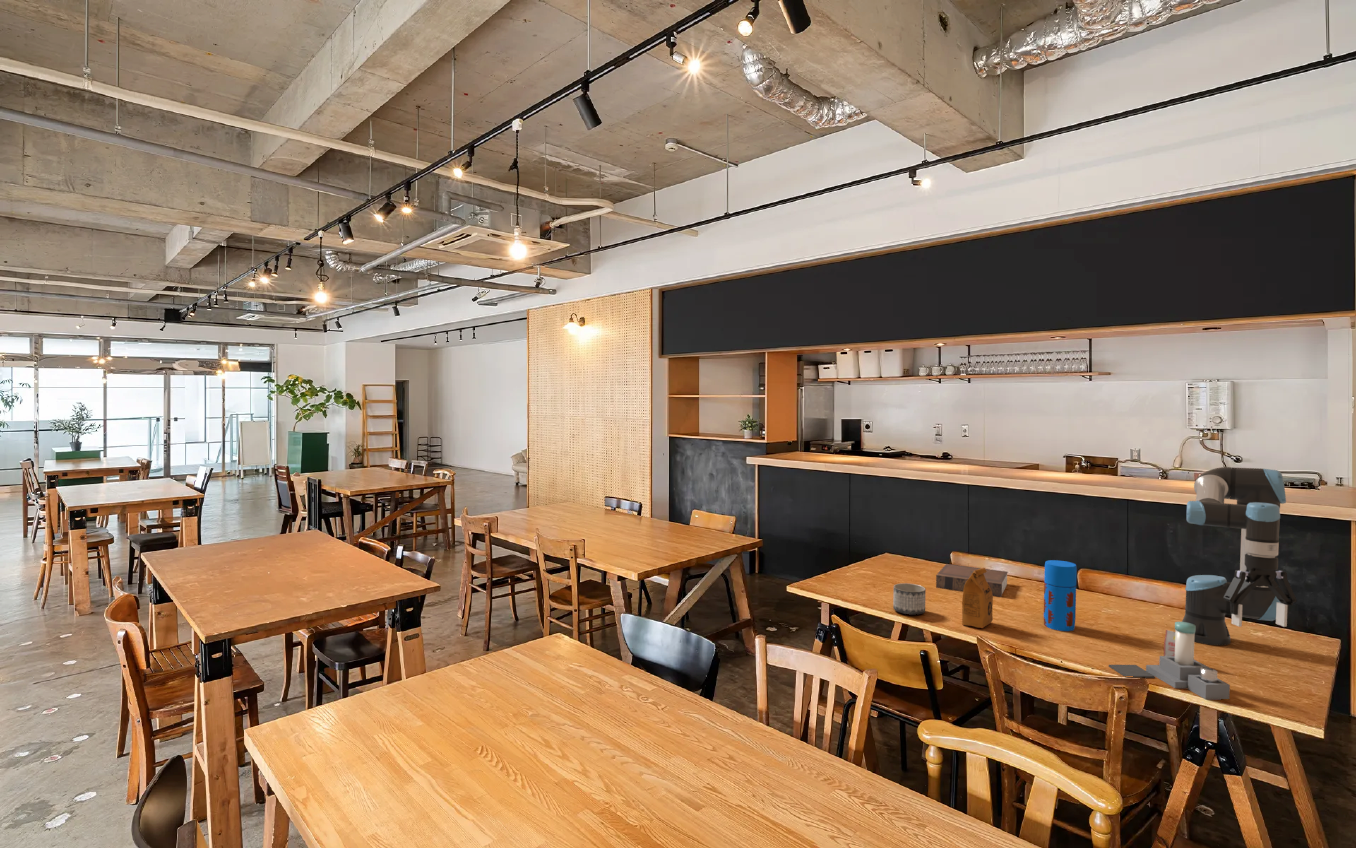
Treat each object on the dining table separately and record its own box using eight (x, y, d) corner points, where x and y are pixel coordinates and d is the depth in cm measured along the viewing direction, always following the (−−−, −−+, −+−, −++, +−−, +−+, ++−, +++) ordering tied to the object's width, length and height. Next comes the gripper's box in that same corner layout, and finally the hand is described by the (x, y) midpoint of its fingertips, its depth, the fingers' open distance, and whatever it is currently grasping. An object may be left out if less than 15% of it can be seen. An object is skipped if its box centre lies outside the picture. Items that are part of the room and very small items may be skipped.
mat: (1108, 666, 221) (1108, 664, 221) (1135, 666, 221) (1135, 664, 221) (1126, 677, 212) (1126, 676, 212) (1154, 678, 212) (1154, 676, 212)
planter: (892, 614, 274) (892, 589, 273) (894, 605, 286) (894, 582, 285) (924, 618, 269) (925, 593, 269) (925, 609, 281) (925, 585, 280)
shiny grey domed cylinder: (1196, 683, 202) (1197, 667, 202) (1209, 683, 202) (1210, 667, 202) (1206, 689, 198) (1207, 672, 198) (1220, 689, 198) (1220, 672, 198)
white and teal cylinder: (1169, 670, 213) (1170, 621, 212) (1185, 670, 213) (1187, 621, 212) (1181, 677, 208) (1183, 627, 207) (1198, 677, 208) (1199, 627, 207)
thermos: (1073, 624, 262) (1075, 561, 261) (1076, 633, 252) (1078, 568, 251) (1042, 620, 267) (1043, 559, 266) (1044, 628, 257) (1045, 565, 256)
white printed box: (1166, 657, 229) (1167, 628, 229) (1190, 663, 224) (1191, 634, 223) (1163, 660, 227) (1164, 631, 226) (1187, 666, 221) (1188, 636, 221)
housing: (1146, 671, 218) (1146, 653, 217) (1189, 671, 217) (1189, 653, 217) (1193, 699, 197) (1194, 679, 197) (1241, 699, 197) (1241, 680, 197)
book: (1001, 598, 298) (1001, 584, 297) (936, 588, 313) (936, 575, 312) (1007, 585, 318) (1008, 571, 318) (946, 576, 333) (946, 563, 333)
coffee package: (997, 624, 262) (998, 569, 261) (983, 631, 254) (984, 575, 253) (972, 617, 270) (973, 564, 269) (957, 624, 262) (958, 569, 261)
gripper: (1230, 557, 194) (1228, 629, 194) (1314, 558, 194) (1311, 629, 195) (1209, 552, 201) (1207, 621, 202) (1290, 552, 202) (1288, 621, 202)
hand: (1258, 625), depth 198 cm, fingers open, 13 cm apart
